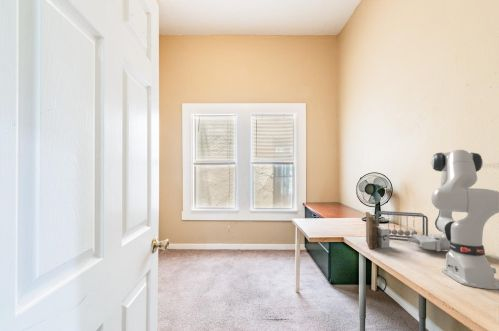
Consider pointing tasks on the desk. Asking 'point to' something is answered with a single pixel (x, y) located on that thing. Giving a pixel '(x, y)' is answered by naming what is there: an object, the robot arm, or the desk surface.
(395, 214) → the newton's cradle
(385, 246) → the ink box
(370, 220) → the headboard
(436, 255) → the desk surface
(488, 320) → the desk surface
